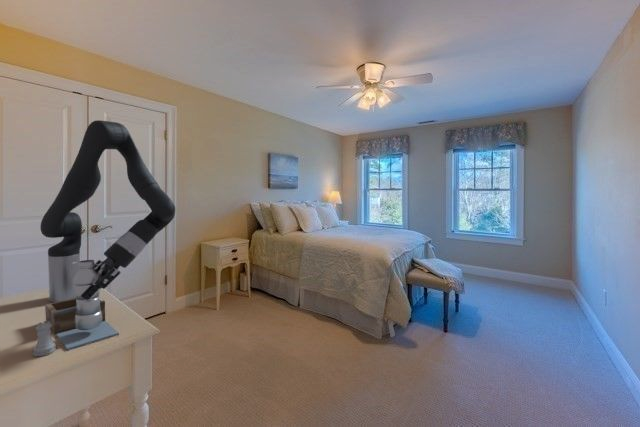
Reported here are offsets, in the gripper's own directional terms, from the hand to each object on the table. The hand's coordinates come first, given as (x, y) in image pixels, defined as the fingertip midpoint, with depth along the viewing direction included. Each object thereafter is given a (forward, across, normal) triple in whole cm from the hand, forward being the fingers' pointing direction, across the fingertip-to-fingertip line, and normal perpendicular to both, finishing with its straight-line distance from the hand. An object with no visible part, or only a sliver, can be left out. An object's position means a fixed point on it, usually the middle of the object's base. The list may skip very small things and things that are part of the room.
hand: (80, 295), depth 86 cm
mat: (+8, 0, +10) cm, 13 cm away
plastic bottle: (+6, 0, +9) cm, 11 cm away
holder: (+8, -13, +10) cm, 18 cm away
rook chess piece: (+15, +3, +3) cm, 16 cm away
